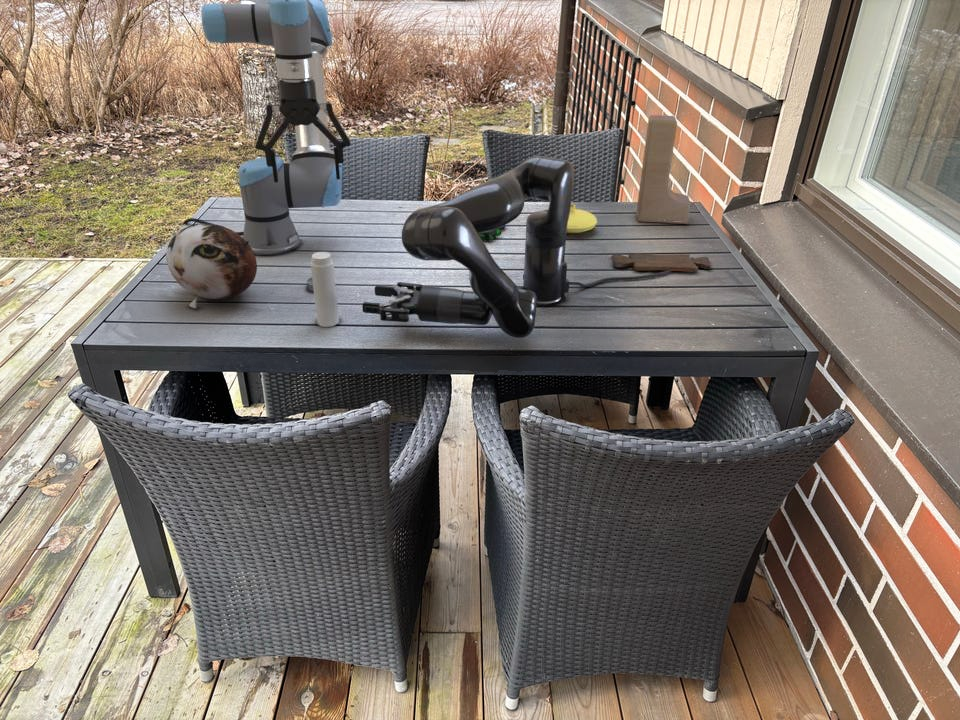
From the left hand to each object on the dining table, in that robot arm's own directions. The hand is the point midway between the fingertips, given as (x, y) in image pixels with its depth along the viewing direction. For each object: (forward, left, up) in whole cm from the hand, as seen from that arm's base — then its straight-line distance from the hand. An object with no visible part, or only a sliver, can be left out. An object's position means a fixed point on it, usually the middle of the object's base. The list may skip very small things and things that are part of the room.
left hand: (307, 179), depth 161 cm
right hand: (+24, -8, -20) cm, 32 cm away
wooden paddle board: (+64, +61, -27) cm, 93 cm away
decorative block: (+51, +95, -27) cm, 111 cm away
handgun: (+11, +53, -27) cm, 60 cm away
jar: (+14, -12, -27) cm, 33 cm away
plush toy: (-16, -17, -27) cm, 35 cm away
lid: (0, 0, -25) cm, 25 cm away
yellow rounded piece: (+32, +71, -27) cm, 82 cm away
